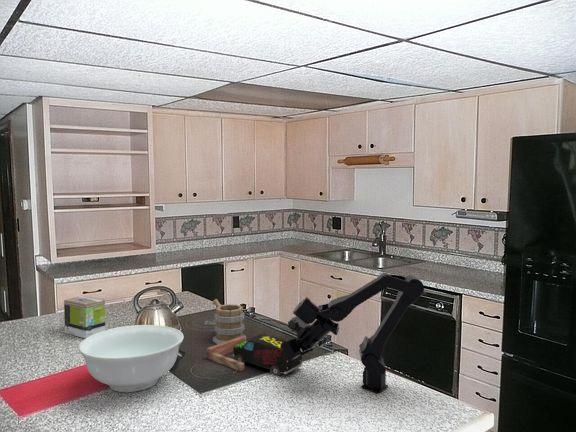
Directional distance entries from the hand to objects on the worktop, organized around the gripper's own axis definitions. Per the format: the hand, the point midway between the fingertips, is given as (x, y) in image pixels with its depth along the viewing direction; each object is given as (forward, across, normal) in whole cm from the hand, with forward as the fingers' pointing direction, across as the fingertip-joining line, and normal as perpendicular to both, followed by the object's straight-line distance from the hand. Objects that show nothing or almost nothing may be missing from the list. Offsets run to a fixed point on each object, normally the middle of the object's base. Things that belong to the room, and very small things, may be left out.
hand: (290, 355), depth 162 cm
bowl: (+30, +37, -20) cm, 52 cm away
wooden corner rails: (+22, 0, -12) cm, 25 cm away
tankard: (+36, -12, -26) cm, 46 cm away
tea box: (+72, +23, -62) cm, 98 cm away
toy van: (+13, -1, -3) cm, 14 cm away
